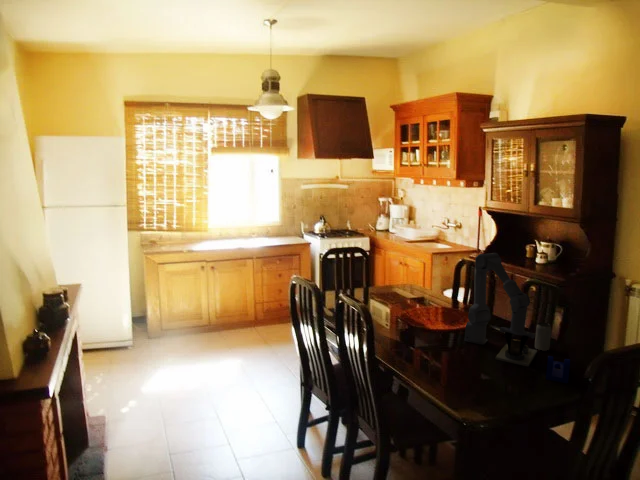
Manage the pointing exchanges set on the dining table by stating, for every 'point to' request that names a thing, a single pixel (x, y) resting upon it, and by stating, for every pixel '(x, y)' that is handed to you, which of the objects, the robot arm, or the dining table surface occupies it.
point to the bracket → (558, 370)
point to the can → (543, 336)
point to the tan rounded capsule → (515, 346)
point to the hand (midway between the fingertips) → (515, 350)
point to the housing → (517, 356)
